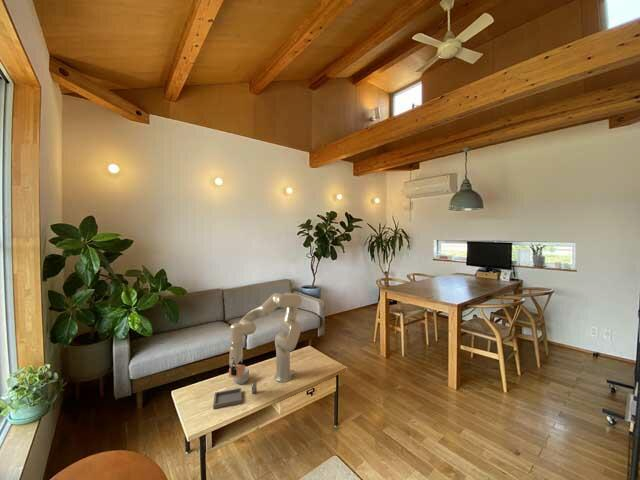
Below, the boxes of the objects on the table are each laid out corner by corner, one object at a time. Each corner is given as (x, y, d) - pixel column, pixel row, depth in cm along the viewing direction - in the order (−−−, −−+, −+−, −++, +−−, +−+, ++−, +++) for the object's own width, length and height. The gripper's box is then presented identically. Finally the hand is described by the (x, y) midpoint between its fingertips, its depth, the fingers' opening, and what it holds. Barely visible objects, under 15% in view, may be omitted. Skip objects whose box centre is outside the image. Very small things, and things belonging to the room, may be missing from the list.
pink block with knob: (234, 372, 170) (234, 364, 171) (244, 372, 169) (244, 365, 170) (228, 377, 164) (228, 369, 164) (239, 378, 162) (239, 369, 163)
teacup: (244, 386, 179) (244, 375, 178) (229, 385, 181) (229, 373, 181) (253, 375, 192) (253, 364, 192) (240, 374, 195) (239, 363, 194)
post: (256, 391, 174) (256, 381, 173) (256, 393, 171) (256, 383, 170) (251, 392, 173) (251, 382, 172) (252, 394, 170) (251, 384, 170)
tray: (241, 391, 173) (241, 387, 173) (241, 403, 161) (241, 399, 161) (214, 396, 169) (214, 392, 169) (213, 409, 156) (213, 405, 156)
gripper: (237, 338, 175) (237, 365, 176) (223, 349, 158) (224, 379, 159) (248, 338, 174) (248, 365, 175) (235, 350, 157) (236, 380, 157)
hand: (236, 371), depth 167 cm, fingers closed on pink block with knob, 7 cm apart
